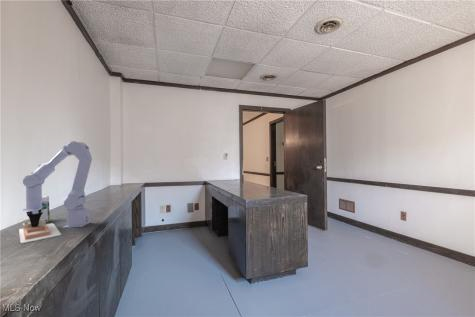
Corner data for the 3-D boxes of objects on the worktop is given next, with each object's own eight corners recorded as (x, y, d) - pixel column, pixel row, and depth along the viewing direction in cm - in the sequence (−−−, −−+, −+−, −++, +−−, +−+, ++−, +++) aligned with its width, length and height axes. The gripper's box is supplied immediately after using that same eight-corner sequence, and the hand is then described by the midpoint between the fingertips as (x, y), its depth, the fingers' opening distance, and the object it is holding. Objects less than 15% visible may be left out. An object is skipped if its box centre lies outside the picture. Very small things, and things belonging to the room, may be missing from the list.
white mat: (53, 223, 115) (53, 223, 115) (61, 235, 97) (61, 234, 97) (18, 229, 105) (18, 229, 105) (20, 244, 87) (20, 243, 87)
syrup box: (37, 224, 113) (36, 197, 113) (30, 223, 115) (30, 197, 115) (49, 221, 118) (49, 195, 118) (43, 220, 120) (43, 195, 120)
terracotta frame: (24, 233, 99) (23, 229, 99) (46, 228, 105) (46, 225, 105) (25, 239, 91) (25, 236, 91) (49, 234, 97) (49, 231, 97)
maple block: (44, 225, 111) (44, 219, 111) (45, 227, 108) (45, 220, 108) (23, 229, 105) (23, 223, 105) (23, 231, 102) (23, 224, 102)
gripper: (22, 198, 108) (22, 224, 108) (23, 202, 98) (24, 231, 99) (40, 196, 113) (41, 221, 114) (43, 199, 104) (44, 227, 104)
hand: (34, 225), depth 106 cm, fingers closed on maple block, 4 cm apart
